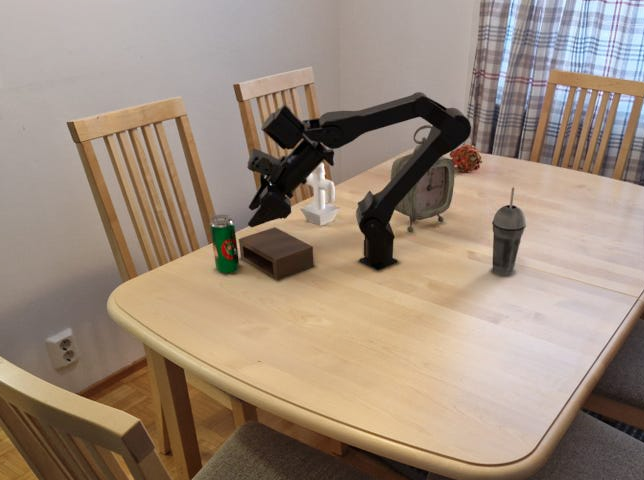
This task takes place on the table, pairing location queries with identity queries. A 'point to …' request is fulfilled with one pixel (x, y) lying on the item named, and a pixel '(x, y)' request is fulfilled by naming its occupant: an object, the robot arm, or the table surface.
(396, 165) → the tabletop clock
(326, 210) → the figurine
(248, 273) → the table surface
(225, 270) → the soda can
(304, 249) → the shelf
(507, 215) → the beverage cup
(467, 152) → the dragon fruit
